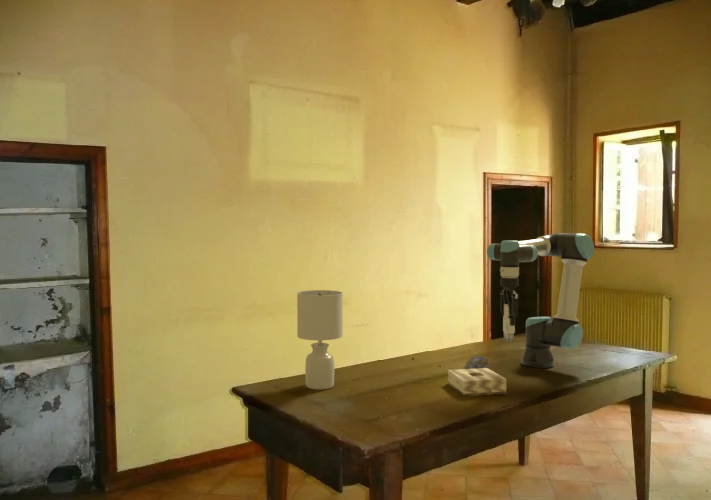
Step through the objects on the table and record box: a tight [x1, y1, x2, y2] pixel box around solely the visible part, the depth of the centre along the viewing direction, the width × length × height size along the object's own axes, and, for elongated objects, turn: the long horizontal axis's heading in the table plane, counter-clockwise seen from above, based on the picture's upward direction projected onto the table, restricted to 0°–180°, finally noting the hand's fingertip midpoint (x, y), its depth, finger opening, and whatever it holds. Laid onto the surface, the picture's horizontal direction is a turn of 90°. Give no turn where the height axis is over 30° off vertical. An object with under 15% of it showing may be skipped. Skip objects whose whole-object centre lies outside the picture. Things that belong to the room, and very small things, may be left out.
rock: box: [464, 355, 491, 370], centre depth 260 cm, size 11×10×10 cm
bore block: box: [447, 368, 507, 397], centre depth 237 cm, size 18×18×6 cm
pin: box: [503, 304, 515, 344], centre depth 243 cm, size 4×4×16 cm
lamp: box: [296, 289, 344, 391], centre depth 239 cm, size 19×19×39 cm
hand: (508, 331), depth 243 cm, fingers closed on pin, 4 cm apart
